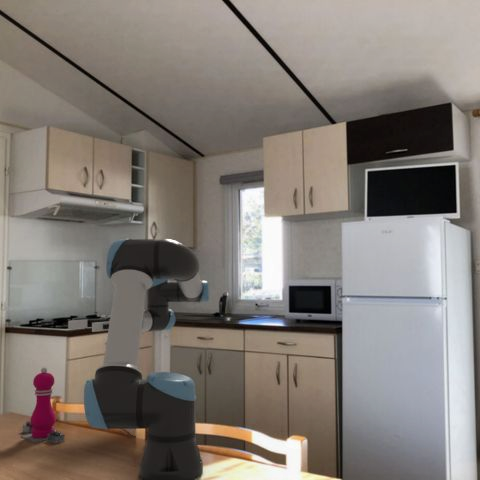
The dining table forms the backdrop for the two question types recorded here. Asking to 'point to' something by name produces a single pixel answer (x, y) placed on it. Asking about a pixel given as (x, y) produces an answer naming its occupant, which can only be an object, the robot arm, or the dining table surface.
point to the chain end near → (55, 437)
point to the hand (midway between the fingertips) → (80, 326)
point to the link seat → (29, 437)
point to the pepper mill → (43, 405)
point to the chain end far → (28, 428)
